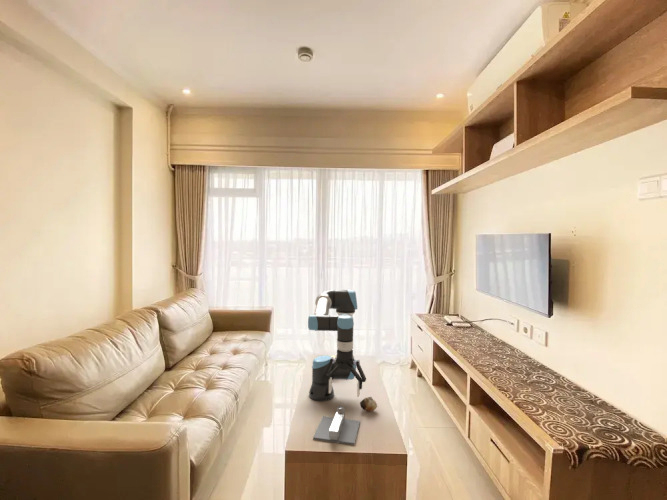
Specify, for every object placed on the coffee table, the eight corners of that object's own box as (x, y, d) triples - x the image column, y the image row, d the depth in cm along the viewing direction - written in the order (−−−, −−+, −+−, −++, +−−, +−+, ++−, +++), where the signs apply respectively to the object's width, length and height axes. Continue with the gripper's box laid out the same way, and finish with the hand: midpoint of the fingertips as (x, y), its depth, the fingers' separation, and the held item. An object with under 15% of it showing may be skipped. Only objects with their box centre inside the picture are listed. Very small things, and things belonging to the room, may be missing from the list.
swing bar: (337, 416, 181) (337, 405, 181) (345, 417, 180) (345, 406, 180) (328, 439, 160) (329, 427, 160) (337, 441, 160) (337, 428, 159)
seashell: (376, 408, 193) (376, 394, 193) (377, 414, 188) (377, 399, 187) (359, 408, 194) (360, 394, 193) (360, 413, 188) (360, 399, 188)
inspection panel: (322, 417, 183) (323, 415, 183) (360, 422, 179) (360, 420, 179) (313, 439, 163) (313, 436, 163) (354, 445, 159) (354, 442, 159)
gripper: (317, 349, 159) (316, 394, 160) (370, 354, 153) (369, 400, 154) (321, 344, 166) (320, 387, 167) (372, 349, 161) (371, 393, 161)
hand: (344, 393), depth 161 cm, fingers open, 13 cm apart
